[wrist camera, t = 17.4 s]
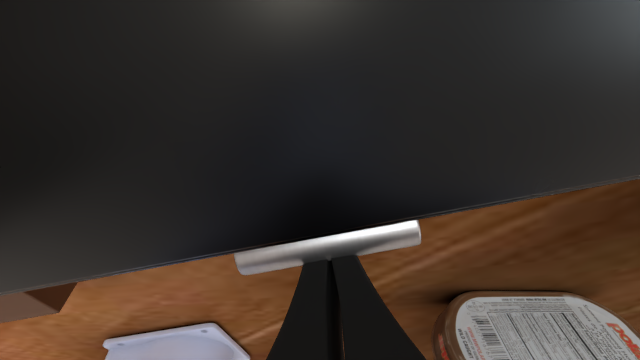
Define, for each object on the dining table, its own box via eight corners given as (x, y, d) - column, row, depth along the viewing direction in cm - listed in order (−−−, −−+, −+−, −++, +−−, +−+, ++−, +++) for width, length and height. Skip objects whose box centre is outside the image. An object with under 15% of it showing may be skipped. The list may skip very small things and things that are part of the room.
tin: (415, 305, 23) (459, 447, 17) (429, 284, 21) (485, 436, 15) (583, 304, 25) (680, 433, 19) (611, 285, 23) (730, 421, 17)
